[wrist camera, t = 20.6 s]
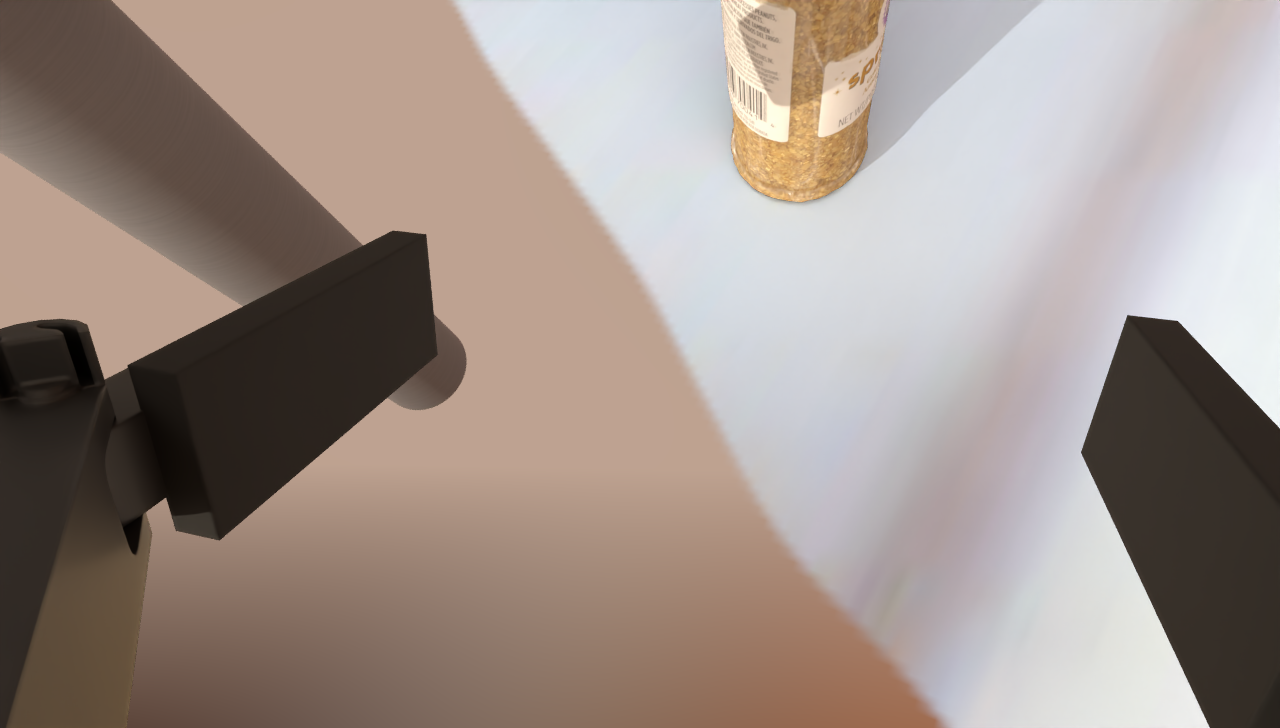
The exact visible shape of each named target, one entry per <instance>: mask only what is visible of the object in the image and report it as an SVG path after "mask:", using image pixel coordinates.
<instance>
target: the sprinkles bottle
mask: <svg viewBox="0 0 1280 728" xmlns="http://www.w3.org/2000/svg"><path fill="white" fill-rule="evenodd" d="M889 4H890V0H721V8H722V19H723V31H724V43H725V55H726V67H727V79H728V89H729V96H730V101H731V103H732V106H733V120H734V128H733V132H732V139H731V150H732V154H733V159H734V162H735V165H736V166H737V168H738V171H739V173H740V174H741V176H742V177H743V178H744V179H745V180H746V181H747V182H748V183H749V184H750V185H751V186H752V187H753V188H754V189H756V190H757V191H759V192H761V193H763V194H765V195H767V196H770V197H773V198H777V199H782V200H787V201H797V202H804V201H808V200H812V199H818V198H820V197H823V196H826V195H827V194H829V193H830V192H832V191H834V190H836V189H838V188H840V187H841V186H843V185H844V184H845V183H846V182H847V181H848V180H850V179H851V178H852V177H853V176H854V174H855V173H856V171H857V170H858V168H859V167H860V165H861V163H862V160H863V158H864V155H865V152H866V150H867V145H868V144H867V136H868V132H867V122H868V116H869V111H870V106H871V100H872V96H873V93H874V90H875V87H876V82H877V77H878V71H879V65H880V58H881V52H882V45H883V39H884V32H885V26H886V21H887V15H888V10H889Z"/></svg>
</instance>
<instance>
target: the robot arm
mask: <svg viewBox="0 0 1280 728" xmlns="http://www.w3.org/2000/svg"><path fill="white" fill-rule="evenodd" d="M436 356H437V344H436V333H435V323H434V312H433V301H432V291H431V280H430V270H429V259H428V248H427V238H426V234H418V233H409V232H400V231H392V232H389V233H387V234H385V235H383V236H381V237H379V238H378V239H375V240H373V241H372V242H369V243H367V244H366V245H364V246H362V247H360V248H358V249H356V250H354V251H352V252H350V253H348V254H346V255H344V256H342V257H340V258H338V259H336V260H334V261H332V262H330V263H328V264H326V265H324V266H322V267H320V268H318V269H316V270H314V271H312V272H310V273H308V274H306V275H304V276H302V277H300V278H299V279H297V280H295V281H293V282H291V283H289V284H287V285H285V286H283V287H281V288H279V289H277V290H275V291H273V292H271V293H269V294H267V295H265V296H263V297H261V298H259V299H257V300H255V301H253V302H251V303H249V304H247V305H245V306H243V307H242V308H239V309H237V310H235V311H233V312H232V313H230V314H228V315H226V316H224V317H222V318H220V319H218V320H216V321H214V322H212V323H210V324H208V325H206V326H204V327H202V328H200V329H198V330H196V331H194V332H192V333H190V334H188V335H186V336H184V337H182V338H180V339H178V340H177V341H174V342H172V343H171V344H168V345H167V346H165V347H163V348H161V349H159V350H157V351H155V352H153V353H151V354H149V355H147V356H145V357H143V358H141V359H139V360H137V361H135V362H133V363H131V364H129V365H128V368H127V369H125V370H123V371H121V372H119V373H117V374H115V375H113V376H111V377H109V378H107V379H105V380H104V377H103V373H102V370H101V367H100V364H99V361H98V357H97V354H96V351H95V348H94V345H93V341H92V338H91V335H90V332H89V329H88V326H87V324H84V323H82V322H80V321H77V320H66V319H53V320H38V321H33V322H27V323H21V324H16V325H13V326H9V327H5V328H2V329H0V728H126V727H127V720H128V712H129V704H130V697H131V689H132V682H133V674H134V667H135V659H136V652H137V643H138V636H139V629H140V621H141V613H142V606H143V598H144V590H145V582H146V576H147V568H148V561H149V553H150V545H151V538H152V531H151V528H150V524H149V521H148V518H147V515H146V511H148V510H149V509H151V508H152V507H153V506H155V505H156V504H158V503H159V502H160V501H162V500H163V499H164V498H167V502H168V505H169V508H170V512H171V515H172V519H173V522H174V526H175V529H176V531H180V532H185V533H189V534H193V535H198V536H202V537H207V538H211V539H216V540H221V539H222V538H223V537H224V536H225V535H226V534H227V533H229V532H230V531H231V530H232V529H234V528H235V527H236V526H237V525H238V524H239V523H241V522H242V521H243V520H244V519H245V518H246V517H248V516H249V515H250V514H251V513H252V512H253V511H255V510H256V509H257V508H258V507H259V506H260V505H262V504H263V503H264V502H265V501H266V500H268V499H269V498H270V497H271V496H272V495H273V494H274V493H276V492H277V491H278V490H279V489H281V488H282V487H283V486H284V485H285V484H286V483H288V482H289V481H290V480H291V479H292V478H293V477H295V476H296V475H297V474H298V473H299V472H300V471H301V470H303V469H304V468H305V467H306V466H307V465H309V464H310V463H311V462H312V461H313V460H315V459H316V458H317V457H318V456H319V455H320V454H322V453H323V452H324V451H325V450H326V449H328V448H329V447H330V446H331V445H332V444H333V443H334V442H336V441H337V440H338V439H339V438H340V437H341V436H343V435H344V434H345V433H346V432H347V431H349V430H350V429H351V428H352V427H353V426H354V425H356V424H357V423H358V422H359V421H360V420H362V419H363V418H364V417H365V416H366V415H367V414H369V412H371V411H372V410H373V409H374V408H376V407H377V406H378V405H379V404H380V403H382V402H383V401H384V400H385V399H386V398H387V397H389V396H390V395H391V394H392V393H393V392H394V391H396V390H397V389H398V388H399V387H400V386H402V385H403V384H404V383H405V382H406V381H407V380H409V379H410V378H411V377H412V376H413V375H414V374H416V373H417V372H418V371H419V370H420V369H421V368H423V367H424V366H425V365H426V364H427V363H429V362H430V361H431V360H432V359H433V358H434V357H436ZM1081 453H1082V456H1083V458H1084V460H1085V462H1086V464H1087V466H1088V468H1089V471H1090V473H1091V475H1092V477H1093V479H1094V481H1095V483H1096V485H1097V488H1098V490H1099V492H1100V494H1101V496H1102V498H1103V500H1104V503H1105V505H1106V507H1107V509H1108V511H1109V513H1110V515H1111V518H1112V520H1113V522H1114V524H1115V526H1116V528H1117V530H1118V532H1119V535H1120V537H1121V539H1122V541H1123V543H1124V545H1125V547H1126V550H1127V552H1128V554H1129V556H1130V558H1131V560H1132V562H1133V565H1134V567H1135V569H1136V571H1137V573H1138V575H1139V577H1140V579H1141V582H1142V584H1143V586H1144V588H1145V590H1146V592H1147V594H1148V597H1149V599H1150V601H1151V603H1152V605H1153V607H1154V609H1155V612H1156V614H1157V616H1158V618H1159V620H1160V622H1161V624H1162V626H1163V629H1164V631H1165V633H1166V635H1167V637H1168V639H1169V641H1170V644H1171V646H1172V648H1173V650H1174V652H1175V654H1176V656H1177V658H1178V661H1179V663H1180V665H1181V667H1182V669H1183V671H1184V673H1185V676H1186V678H1187V680H1188V682H1189V684H1190V686H1191V688H1192V691H1193V693H1194V695H1195V697H1196V699H1197V701H1198V703H1199V705H1200V708H1201V710H1202V712H1203V714H1204V716H1205V718H1206V720H1207V723H1208V725H1209V727H1210V728H1280V428H1279V427H1278V426H1277V425H1276V424H1275V423H1274V422H1273V421H1272V420H1271V419H1270V418H1269V417H1268V416H1267V415H1266V414H1265V413H1264V411H1263V410H1262V409H1261V408H1260V407H1259V406H1258V405H1257V404H1256V403H1255V402H1254V401H1253V400H1252V399H1251V398H1250V397H1249V396H1248V395H1247V394H1246V392H1245V391H1244V390H1243V389H1242V388H1241V387H1240V386H1239V385H1238V384H1237V383H1236V382H1235V381H1234V380H1233V379H1232V378H1231V377H1230V376H1229V375H1228V373H1227V372H1226V371H1225V370H1224V369H1223V368H1222V367H1221V366H1220V365H1219V364H1218V363H1217V362H1216V361H1215V360H1214V359H1213V358H1212V357H1211V356H1210V354H1209V353H1208V352H1207V351H1206V350H1205V349H1204V348H1203V347H1202V346H1201V345H1200V344H1199V343H1198V342H1197V341H1196V340H1195V339H1194V338H1193V337H1192V336H1191V334H1190V333H1189V332H1188V331H1187V330H1186V329H1185V328H1184V327H1183V326H1182V325H1181V324H1180V323H1179V322H1178V321H1173V320H1164V319H1155V318H1147V317H1138V316H1129V315H1127V318H1126V321H1125V324H1124V327H1123V330H1122V333H1121V336H1120V339H1119V342H1118V345H1117V348H1116V351H1115V354H1114V357H1113V360H1112V363H1111V366H1110V368H1109V371H1108V374H1107V377H1106V380H1105V383H1104V386H1103V389H1102V392H1101V395H1100V398H1099V401H1098V404H1097V407H1096V410H1095V413H1094V416H1093V419H1092V422H1091V425H1090V428H1089V431H1088V433H1087V436H1086V439H1085V442H1084V445H1083V448H1082V451H1081Z"/></svg>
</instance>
